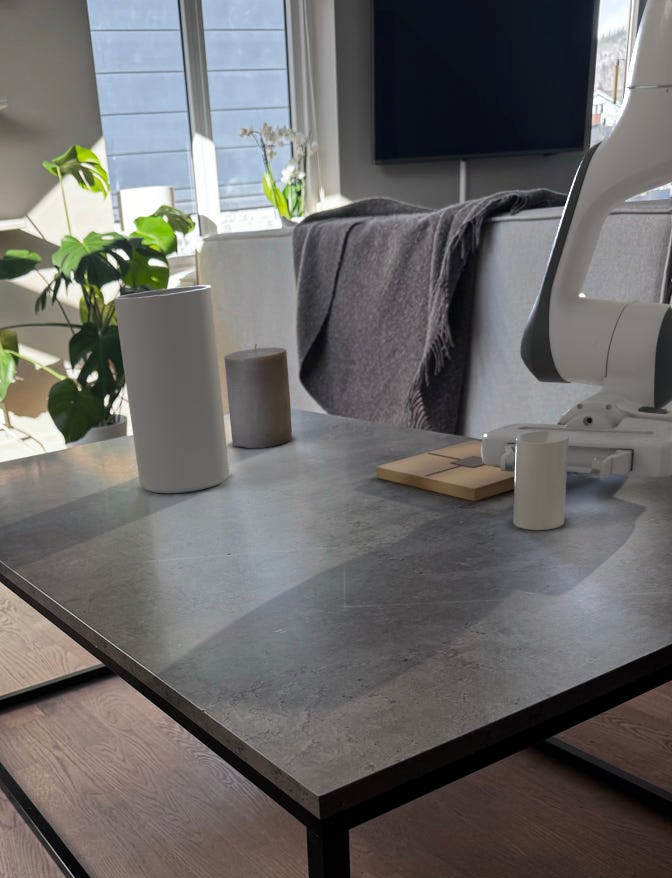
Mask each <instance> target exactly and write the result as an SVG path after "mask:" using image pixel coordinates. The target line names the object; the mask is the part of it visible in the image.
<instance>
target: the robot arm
mask: <svg viewBox="0 0 672 878" xmlns="http://www.w3.org/2000/svg"><path fill="white" fill-rule="evenodd" d="M625 86H626V87H625V90H624V95H623V99H622V104H621V106H620V109H619V111H618V114H617V116H616V119H615V120H614V123H613V124H612V126H611V127H610V130H609V131H608V132H607V134H606V135H605V136H604V138H603V139H602V140H601V141H599V142H597V143H596V144H594V145H592V146H591V147H589V148H588V150H586V153H585V155H584V156H583V158H582V160H581V161H580V164H579V166H578V168H577V171H576V174H575V175H574V178H573V180H572V184H571V187H570V190H569V193H568V196H567V199H566V202H565V205H564V208H563V211H562V214H561V216H560V217H561V218H560V220H559V225H558V228H557V232H556V235H555V238H554V240H553V244H552V247H551V251H550V254H549V258H548V261H547V264H546V267H545V271H544V275H543V279H542V282H541V284H540V288H539V291H538V293H537V296H536V299H535V302H534V303H533V306H532V309H531V312H530V314H529V316H528V318H527V321H526V325H525V326H524V331H523V334H522V338H521V342H520V349H519V350H520V358H521V360H522V362H523V364H524V365H525V367H526V368H527V369H528V371H529V372H530V373H531V375H532V376H534V378H535V379H536V380H537V381H539V382H540V383H554V384H555V383H556V384H572V383H575V384H580V385H589V386H596V387H601V388H600V390H599V391H598V392H596V394H595V393H594V394H593V395H591V396H589V397H587V398H585V399H583V400H582V401H580V402H578V403H576V404H574V405H573V406H572V407H570V408H569V409H568V410H566V411H565V412H564V413H563V414H562V415H561V416H560V418H559V419H558V422H557V423H556V424H553V423H527V422H525V423H523V422H522V423H521V422H520V423H511V424H508V425H504V426H501V427H498V428H495V429H493V430H491V431H488V432H486V433H485V434H483V437H482V440H481V442H482V461H483V463H484V464H485V465H487V466H496V467H501V471H509V472H515V450H516V438H517V437H518V436H520V435H522V434H526V433H532V432H560V433H564V434H567V435H568V436H569V445H568V463H567V473H569V472H570V473H572V474H575V475H577V476H579V477H582V478H588V479H605V480H606V479H608V478H609V477H610V476H624V477H625V476H627V477H637V478H638V477H641V478H651V479H662V478H669V477H670V476H672V304H669V303H661V302H660V303H659V302H650V301H638V300H632V301H627V300H616V299H615V300H613V299H601V298H590V297H588V296H586V295H585V294H584V291H583V288H584V284H585V281H586V278H587V275H588V272H589V269H590V265H591V263H592V260H593V256H594V254H595V251H596V248H597V245H598V241H599V238H600V234H601V232H602V229H603V226H604V224H605V222H606V220H607V218H608V217H609V215H610V214H611V213H612V212H613V211H614V210H615V209H616V208H618V206H619V205H621V204H622V203H624V202H625V201H628V200H630V199H632V198H634V197H637V196H639V195H641V194H643V193H644V194H645V193H646V192H650V191H652V190H655V189H657V188H661V187H664V186H665V185H668V184H671V183H672V0H647V1H646V3H645V7H644V9H643V12H642V16H641V20H640V22H639V26H638V29H637V34H636V38H635V41H634V45H633V49H632V53H631V58H630V63H629V67H628V73H627V79H626V83H625Z"/></svg>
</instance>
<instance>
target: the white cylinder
mask: <svg viewBox="0 0 672 878" xmlns="http://www.w3.org/2000/svg"><path fill="white" fill-rule="evenodd" d="M568 445H569V436H568V435H567V434H564V433H560V432H532V433H526V434H522V435H520V436H518V437H517V438H516V450H515V480H514V489H513V513H512V515H513V516H512V523H513V525H514V526H515V527H517V528H520V529H523V530H531V531H547V530H554V529H557V528H560V527H562V526H563V525H564V524H565V516H566V513H565V512H566V497H567V481H568V480H567V478H568V472H567V463H568Z"/></svg>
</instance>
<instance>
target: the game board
mask: <svg viewBox="0 0 672 878" xmlns="http://www.w3.org/2000/svg"><path fill="white" fill-rule="evenodd" d="M375 470H376V471H375V473H376V479H381V480H385V481H389V482H393V483H396V484H402V485H406V486H409V487H413V488H417V489H422V490H425V491H426V490H427V491H431V492H435V493H438V494H443V495H447V496H451V497H456V498H459V499H463V500H467V501H472V502H476V501H479V500H480V501H481V500H483V499H486V498H489V497H490V498H491V497H493V496H496V495H499V494H503V493H506V492H509V491H512V490H514V480H515V472H509V471H501V467H496V466H487V465H485V464H484V463H483V461H482V440H481V441H480V440H476V439H475V440H474V439H470V440H467V441H464V442H461V443H456V444H453V445H450V446H446V447H442V448H438V449H435V450H430V451H428V452H424V453H421V454H420V453H419V454H417V455H413V456H409V457H406V458H402V459H398V460H395V461H392V462H388V463H384V464H380V465H377V466H376V469H375Z"/></svg>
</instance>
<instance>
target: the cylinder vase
mask: <svg viewBox="0 0 672 878" xmlns="http://www.w3.org/2000/svg"><path fill="white" fill-rule="evenodd" d="M212 294H213V293H212V286H211V285H192V286H180V287H171V288H162V289H154V290H147V291H140V292H135V293H134V292H133V293H129V294H124V295H119V296H116V297H113V301H114V307H115V314H116V322H117V327H118V328H117V329H118V338H119V343H120V351H121V358H122V365H123V372H124V378H125V387H126V393H127V400H128V408H129V415H130V422H131V429H132V436H133V444H134V452H135V457H136V465H137V472H138V480H139V485H140V486H141V487H142V488H143V489H144V490H146V491H148V492H151V493H156V494H183V493H191V492H197V491H202V490H206V489H209V488H212V487H215V486H217V485H220V484H221V483H223V482H224V481H225V480H226V479H227V478H228V477H229V474H230V466H229V456H228V447H227V435H226V427H225V417H224V406H223V397H222V386H221V375H220V367H219V366H220V364H219V356H218V346H217V344H218V343H217V336H216V335H217V334H216V325H215V316H214V314H215V313H214V305H213V295H212Z"/></svg>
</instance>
